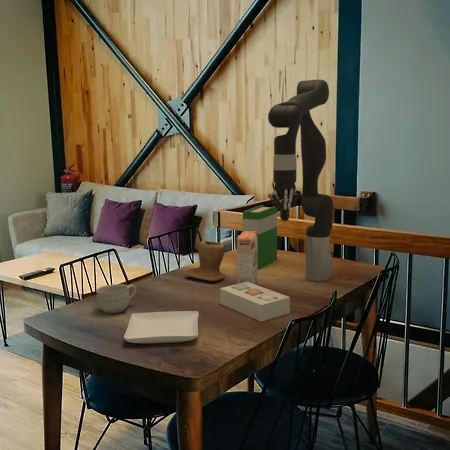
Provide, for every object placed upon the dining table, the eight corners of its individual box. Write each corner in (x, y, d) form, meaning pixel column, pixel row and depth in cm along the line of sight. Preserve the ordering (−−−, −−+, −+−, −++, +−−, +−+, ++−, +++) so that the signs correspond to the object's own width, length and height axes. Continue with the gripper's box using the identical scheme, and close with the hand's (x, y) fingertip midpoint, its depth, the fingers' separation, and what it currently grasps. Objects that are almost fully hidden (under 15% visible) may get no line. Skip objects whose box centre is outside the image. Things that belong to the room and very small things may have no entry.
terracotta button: (254, 295, 194) (254, 288, 194) (263, 298, 191) (263, 291, 190) (244, 298, 192) (244, 290, 191) (253, 301, 188) (252, 293, 188)
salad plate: (132, 322, 183) (131, 311, 182) (198, 319, 184) (198, 309, 183) (123, 349, 162) (122, 338, 161) (198, 346, 163) (198, 335, 162)
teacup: (102, 318, 185) (101, 294, 184) (93, 308, 195) (92, 285, 193) (143, 310, 192) (142, 287, 190) (133, 301, 201) (131, 279, 200)
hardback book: (261, 258, 257) (261, 205, 252) (277, 259, 253) (277, 206, 248) (243, 267, 242) (242, 211, 237) (259, 269, 238) (258, 212, 233)
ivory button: (268, 300, 189) (268, 293, 188) (277, 304, 185) (277, 296, 185) (258, 303, 186) (258, 295, 186) (266, 307, 183) (266, 299, 182)
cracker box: (253, 296, 204) (252, 238, 200) (236, 295, 206) (235, 238, 202) (258, 284, 218) (258, 230, 214) (243, 283, 219) (242, 230, 215)
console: (247, 296, 204) (247, 281, 203) (289, 313, 187) (289, 297, 186) (220, 303, 197) (219, 288, 196) (261, 321, 180) (261, 305, 179)
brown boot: (231, 277, 227) (230, 240, 224) (212, 285, 218) (211, 246, 215) (202, 271, 237) (201, 236, 234) (182, 278, 228) (181, 241, 225)
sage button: (242, 290, 200) (242, 283, 199) (250, 293, 196) (249, 286, 196) (232, 293, 197) (231, 285, 197) (239, 296, 194) (239, 288, 193)
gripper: (291, 165, 194) (291, 216, 197) (261, 168, 186) (262, 221, 189) (307, 167, 188) (307, 219, 191) (277, 170, 180) (277, 224, 183)
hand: (284, 220), depth 190 cm, fingers closed
